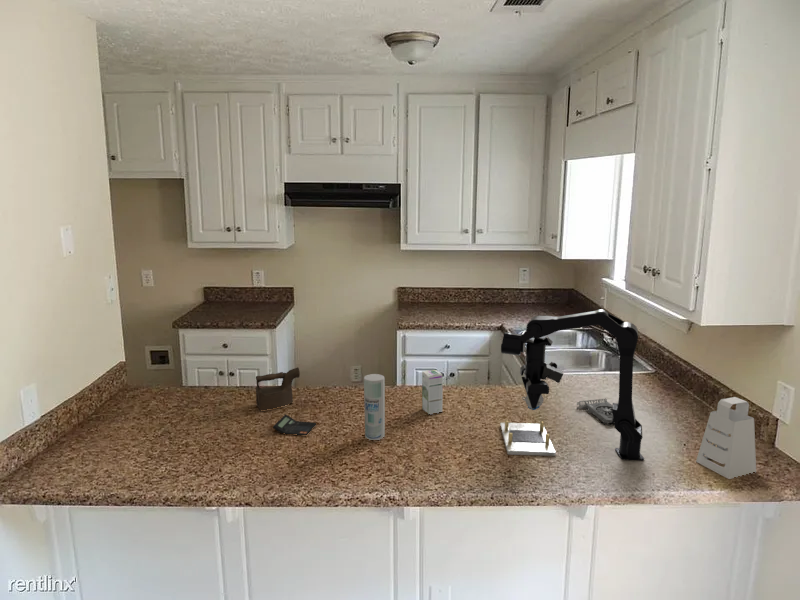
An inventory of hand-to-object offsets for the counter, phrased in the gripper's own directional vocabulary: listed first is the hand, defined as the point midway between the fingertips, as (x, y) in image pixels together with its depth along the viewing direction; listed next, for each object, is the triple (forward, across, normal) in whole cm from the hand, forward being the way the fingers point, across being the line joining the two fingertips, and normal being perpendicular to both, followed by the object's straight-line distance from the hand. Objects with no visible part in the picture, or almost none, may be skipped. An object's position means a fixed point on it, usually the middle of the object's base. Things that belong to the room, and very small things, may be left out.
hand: (532, 404), depth 168 cm
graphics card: (+12, +20, -28) cm, 36 cm away
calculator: (+13, 0, +76) cm, 78 cm away
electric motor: (+1, 0, 0) cm, 1 cm away
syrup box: (+12, +19, +32) cm, 39 cm away
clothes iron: (+13, +19, +89) cm, 92 cm away
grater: (+11, -13, -53) cm, 56 cm away
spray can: (+12, -3, +49) cm, 51 cm away
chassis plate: (+11, -1, +2) cm, 11 cm away
